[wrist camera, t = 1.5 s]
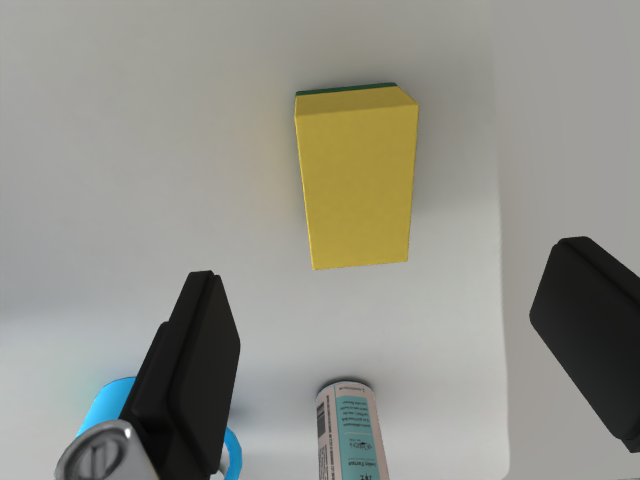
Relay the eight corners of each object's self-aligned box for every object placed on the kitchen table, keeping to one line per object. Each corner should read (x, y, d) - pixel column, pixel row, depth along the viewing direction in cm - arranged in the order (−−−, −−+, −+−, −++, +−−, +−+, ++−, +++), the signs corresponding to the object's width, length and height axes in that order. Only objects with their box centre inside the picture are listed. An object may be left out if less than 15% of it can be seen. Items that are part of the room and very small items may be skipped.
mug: (104, 430, 30) (47, 553, 23) (89, 372, 26) (13, 504, 19) (244, 438, 32) (230, 554, 25) (253, 385, 28) (238, 509, 21)
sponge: (295, 91, 16) (294, 115, 12) (394, 82, 15) (420, 103, 12) (310, 225, 19) (312, 270, 16) (389, 217, 19) (407, 262, 16)
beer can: (328, 415, 30) (341, 615, 21) (305, 386, 28) (308, 598, 18) (381, 400, 30) (421, 602, 20) (362, 369, 27) (398, 582, 17)
